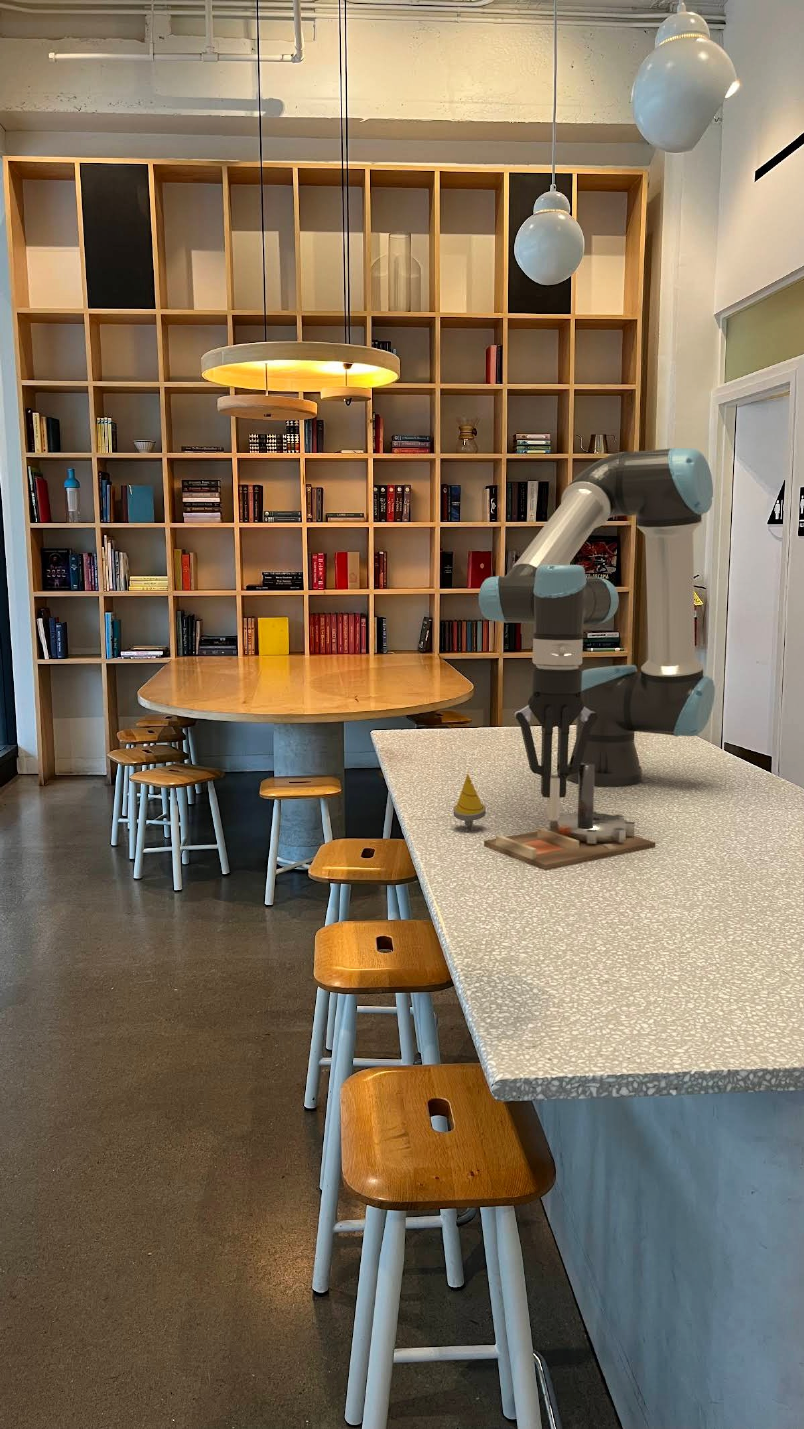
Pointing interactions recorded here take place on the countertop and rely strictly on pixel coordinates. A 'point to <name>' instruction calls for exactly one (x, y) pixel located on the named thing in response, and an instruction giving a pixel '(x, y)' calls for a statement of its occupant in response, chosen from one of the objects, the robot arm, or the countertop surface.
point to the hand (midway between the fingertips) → (552, 817)
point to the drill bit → (469, 804)
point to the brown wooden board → (561, 848)
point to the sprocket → (591, 816)
